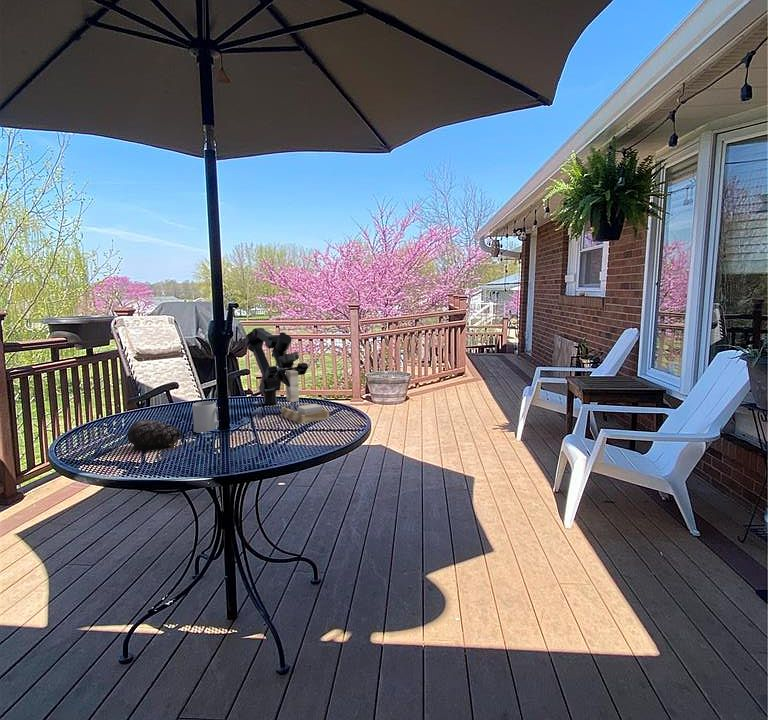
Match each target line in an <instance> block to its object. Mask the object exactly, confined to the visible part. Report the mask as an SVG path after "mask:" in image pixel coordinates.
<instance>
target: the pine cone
mask: <svg viewBox="0 0 768 720" xmlns="http://www.w3.org/2000/svg"><path fill="white" fill-rule="evenodd" d="M181 435H182V433H181V429H179V428H175V426H172V424H170V423H163V422H161V421H157V420H152V419H148V418H147V419H146V418H145V419H144V418H143V419H138V420H137V421H135V422H133V423H132V425H131V426H130V427H129V428H128V430H127V433H126V437H127V441H128V442H129V444H132V445H133V447H131V450H132V451H133V450H135V451H156V450H174V449H175V448H174V446H175V445H176V443H177V442H178V439H179V438H180V437H181ZM174 444H175V445H174ZM173 448H174V449H173Z"/></svg>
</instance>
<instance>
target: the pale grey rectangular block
mask: <svg viewBox="0 0 768 720" xmlns="http://www.w3.org/2000/svg"><path fill="white" fill-rule="evenodd" d="M285 375H286V377H287V379H288V381H289V384H290V387H288V386H286V385H285V392H286V393H285V394H286V397H285V398H286V401H288V402H291V403H295V402H300V397H299V395H300V394H299V392H300V391H299V390H300V389H299V375H298V371H295V370H288V371H285Z"/></svg>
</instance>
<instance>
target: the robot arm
mask: <svg viewBox="0 0 768 720" xmlns="http://www.w3.org/2000/svg"><path fill="white" fill-rule="evenodd" d="M292 340H293V339H292V337H291V336H290V335H289V334H287V333H286V332H284V331H283V332H281V331H280V332H279V334H272V333H270V332H269V331H267V330H265V328H264V327H255V328H253V329H252V331H250V332H248V333H247V334H246V335H245V338H244V344H245V346H246V348H247V349H248V351H250V352H252V353H253V356H254V359H255V361H256V363H257V366H258V368H259V370H260V373H261V379H260V384H259V386H258V390H259V393H262V394H263V401H264V402H263V403H265V404H276V405H278V403H279V400H277V391H278V392H279V391H281V383H283V384H284V385H285V387H286V386H288V387H290V384H289V381H288V379H287V377H286V373H285V371H288V370H295V371H298V376H304V375H306V373H307V372H308V369H309V365H308V363H307V362H299V363H297V366H294V365H295V362H296V361H297V360H299V358H300V357H299V353H298V351H293V352H292V353H291V352H290V353H287V351H288V350H289V348H290V345H291V343H292ZM263 345H264V346H265V347H266V348H267V349H269V350H270V349H272V351H271V358H272V357H273V358H274V361H275V365H273V366H270V364H269V361H268V359H267V356H266V355H265V354H266V353H265V351H264V349H263ZM277 402H278V403H277Z"/></svg>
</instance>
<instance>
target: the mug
mask: <svg viewBox="0 0 768 720" xmlns="http://www.w3.org/2000/svg"><path fill="white" fill-rule="evenodd" d="M217 412H219V411H218V407H217V403H216V402H215V401H211V400H209V401H208V400H206V401H198V402H195V403H192V418H193V433H194V432H196V433H201V432H206V431H211V430H214V429H217V427H218V426H219V421H220V420H218V416H217ZM218 428H219V427H218Z"/></svg>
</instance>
